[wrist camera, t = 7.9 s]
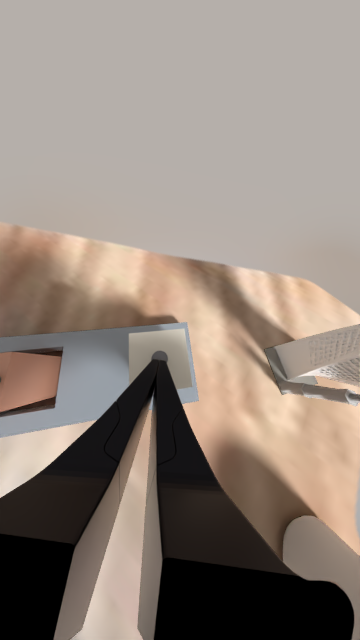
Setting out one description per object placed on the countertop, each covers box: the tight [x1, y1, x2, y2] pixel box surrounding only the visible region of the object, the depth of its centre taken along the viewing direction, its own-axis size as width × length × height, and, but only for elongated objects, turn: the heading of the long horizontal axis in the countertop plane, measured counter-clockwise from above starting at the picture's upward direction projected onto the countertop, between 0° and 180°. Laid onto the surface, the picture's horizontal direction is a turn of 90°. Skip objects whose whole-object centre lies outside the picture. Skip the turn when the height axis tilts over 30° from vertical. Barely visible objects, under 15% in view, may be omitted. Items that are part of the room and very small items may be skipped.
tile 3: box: [0, 352, 62, 412], centre depth 13 cm, size 4×4×8 cm
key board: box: [0, 322, 199, 438], centre depth 16 cm, size 38×10×3 cm, turn 97°
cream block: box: [129, 329, 193, 389], centre depth 13 cm, size 4×4×8 cm
